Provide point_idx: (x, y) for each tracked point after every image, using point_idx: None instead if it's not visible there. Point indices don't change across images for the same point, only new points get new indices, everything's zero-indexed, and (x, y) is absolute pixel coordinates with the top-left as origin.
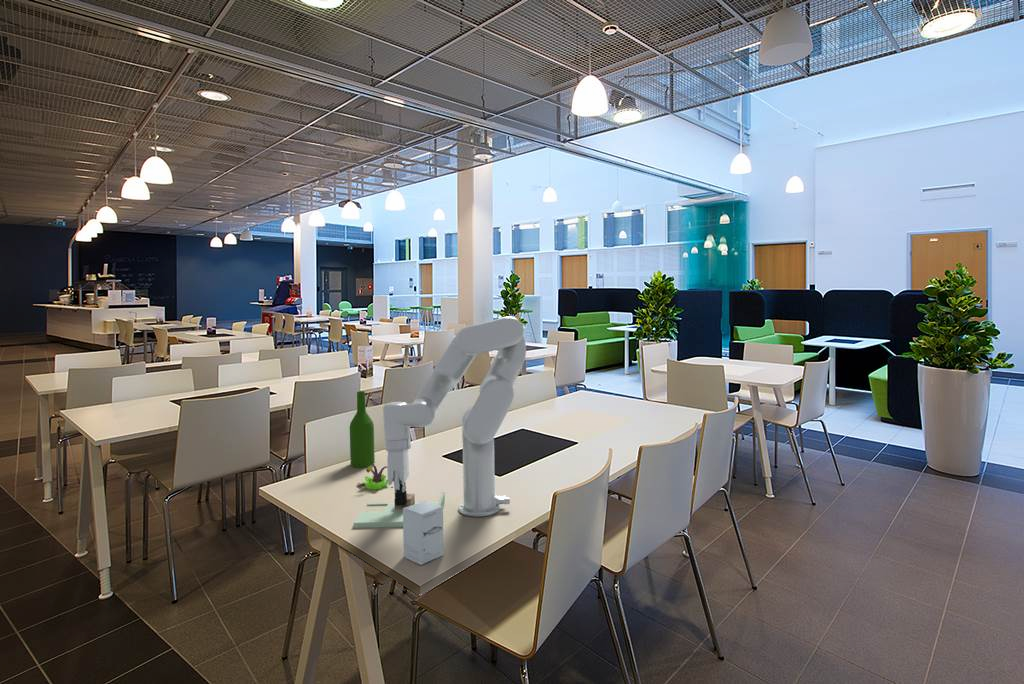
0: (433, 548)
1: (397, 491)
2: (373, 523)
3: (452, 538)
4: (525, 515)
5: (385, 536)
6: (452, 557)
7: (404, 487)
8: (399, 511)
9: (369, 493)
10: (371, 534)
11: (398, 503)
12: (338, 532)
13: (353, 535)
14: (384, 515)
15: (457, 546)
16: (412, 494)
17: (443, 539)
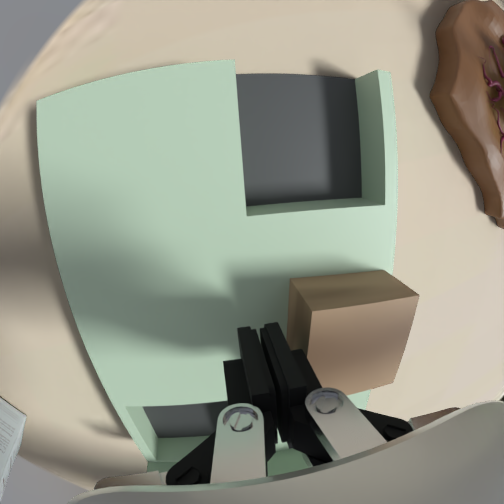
0: None
1: (208, 445)
2: (50, 220)
3: (105, 462)
4: None
5: (35, 289)
6: (25, 451)
7: (308, 459)
8: (243, 321)
9: (491, 81)
10: (37, 216)
11: (224, 362)
12: (60, 40)
13: (23, 131)
14: (161, 251)
15: (70, 464)
16: (384, 378)
17: (11, 468)
